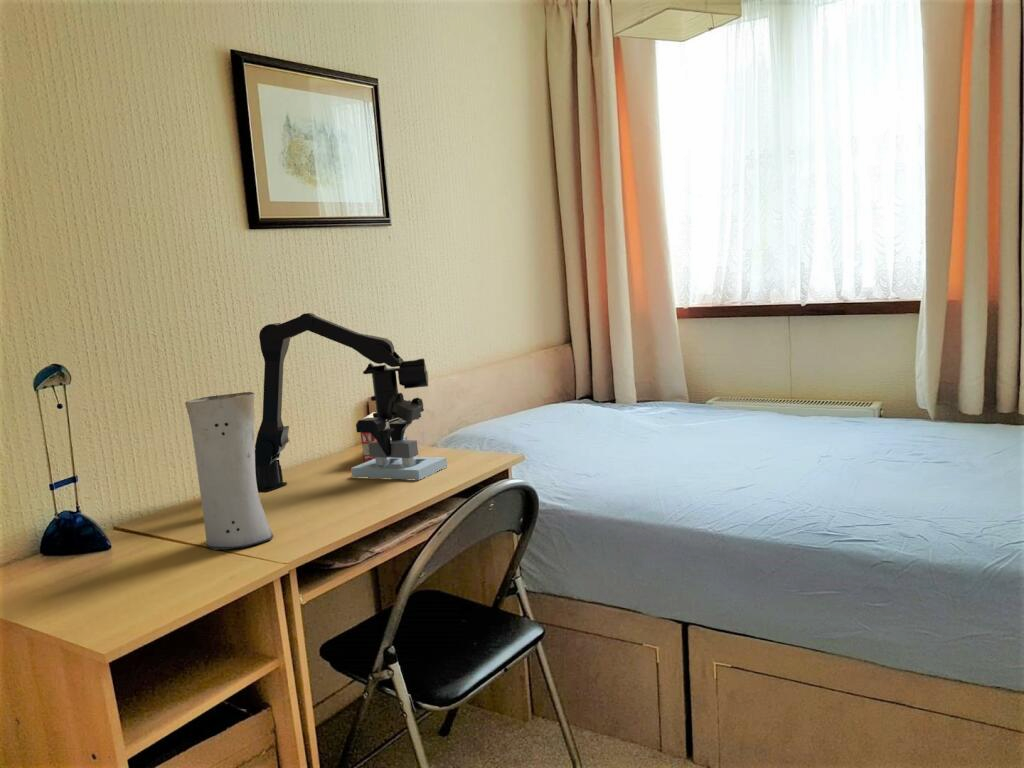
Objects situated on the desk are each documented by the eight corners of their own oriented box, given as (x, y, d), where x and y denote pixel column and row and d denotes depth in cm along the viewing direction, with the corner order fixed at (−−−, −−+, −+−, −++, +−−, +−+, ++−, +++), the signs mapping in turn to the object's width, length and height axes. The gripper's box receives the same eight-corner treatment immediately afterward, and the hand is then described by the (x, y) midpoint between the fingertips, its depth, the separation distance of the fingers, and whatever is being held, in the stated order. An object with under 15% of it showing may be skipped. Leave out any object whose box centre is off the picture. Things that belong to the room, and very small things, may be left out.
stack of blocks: (387, 448, 224) (382, 406, 222) (408, 446, 223) (403, 404, 221) (364, 466, 203) (358, 420, 201) (387, 464, 202) (381, 418, 200)
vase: (291, 534, 150) (274, 390, 148) (231, 556, 139) (211, 401, 136) (248, 528, 158) (231, 391, 155) (188, 549, 146) (168, 402, 144)
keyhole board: (447, 467, 192) (446, 457, 191) (419, 480, 181) (418, 470, 181) (382, 465, 201) (381, 456, 201) (352, 477, 191) (351, 467, 190)
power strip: (419, 463, 188) (416, 439, 187) (411, 467, 185) (408, 442, 184) (379, 462, 194) (376, 439, 193) (371, 465, 191) (368, 442, 190)
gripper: (389, 396, 175) (397, 464, 177) (435, 383, 191) (442, 445, 194) (350, 397, 181) (358, 463, 183) (398, 384, 197) (405, 445, 199)
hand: (393, 453), depth 189 cm, fingers closed on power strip, 3 cm apart
